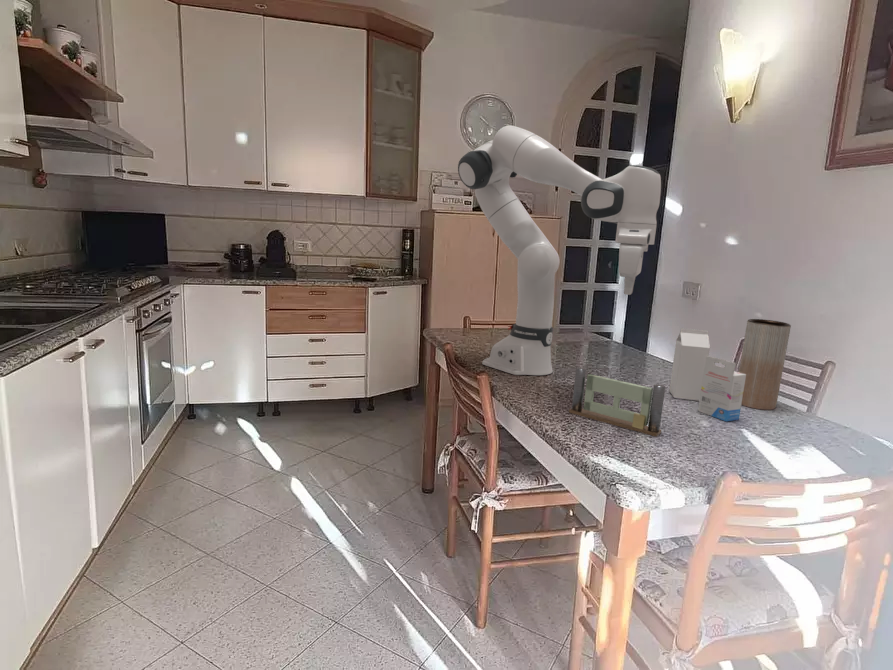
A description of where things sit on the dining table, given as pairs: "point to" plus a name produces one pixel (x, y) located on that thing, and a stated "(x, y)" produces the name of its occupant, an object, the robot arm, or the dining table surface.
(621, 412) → the gate
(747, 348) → the planter
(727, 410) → the ink box
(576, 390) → the drawknife
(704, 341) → the milk carton
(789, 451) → the dining table surface
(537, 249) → the robot arm
